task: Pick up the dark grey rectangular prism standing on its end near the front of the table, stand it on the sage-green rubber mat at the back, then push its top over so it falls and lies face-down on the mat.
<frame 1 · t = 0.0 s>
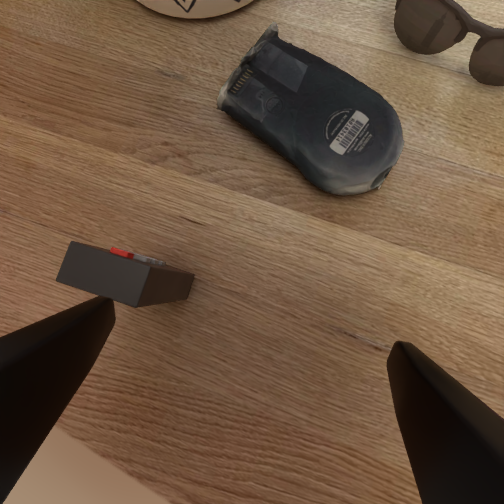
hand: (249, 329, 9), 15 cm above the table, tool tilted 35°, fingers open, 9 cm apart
sunglasses: (480, 2, 27), on the table
electronic device: (312, 129, 26), on the table
dark grey rectangular prism: (166, 278, 25), on the table
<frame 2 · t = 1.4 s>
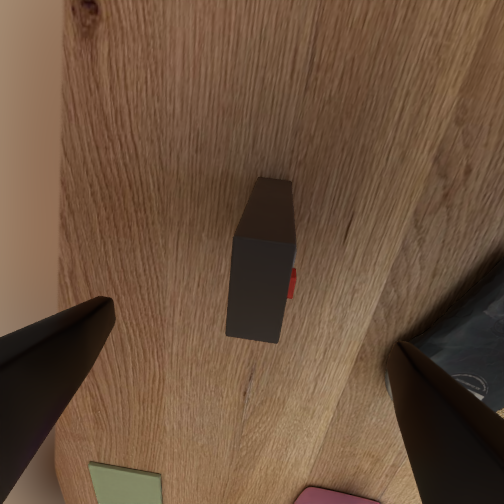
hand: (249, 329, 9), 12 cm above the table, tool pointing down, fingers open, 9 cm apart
electronic device: (467, 337, 23), on the table
dark grey rectangular prism: (270, 211, 20), on the table
mat: (130, 501, 40), on the table
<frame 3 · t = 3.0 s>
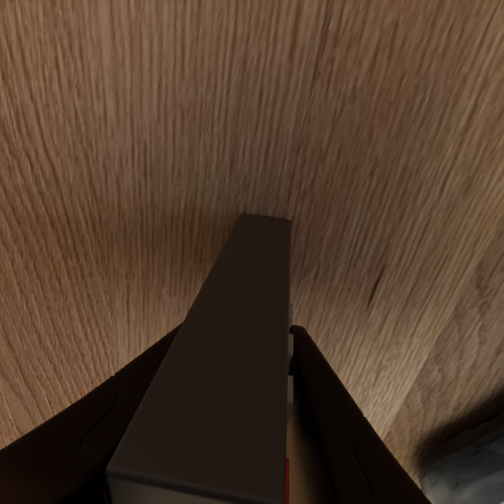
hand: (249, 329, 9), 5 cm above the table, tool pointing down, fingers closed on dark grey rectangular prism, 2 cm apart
dark grey rectangular prism: (259, 262, 13), on the table, touching gripper
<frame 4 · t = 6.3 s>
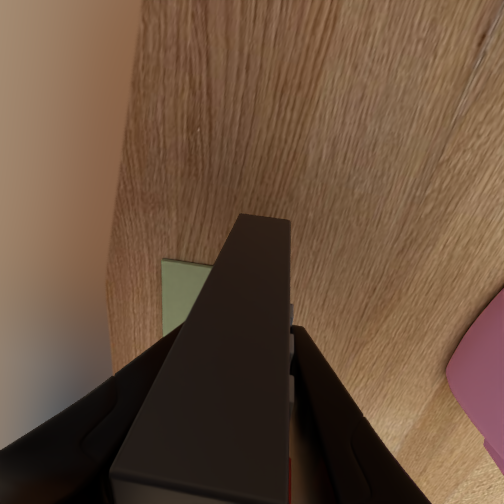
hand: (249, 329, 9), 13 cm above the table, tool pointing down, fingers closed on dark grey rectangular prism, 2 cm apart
dark grey rectangular prism: (259, 262, 13), point 9 cm above the table, touching gripper
mat: (211, 341, 27), on the table
when the fingers open (5 cm above the table, at t = 9.9 s): dark grey rectangular prism stays where it is, resting on mat.
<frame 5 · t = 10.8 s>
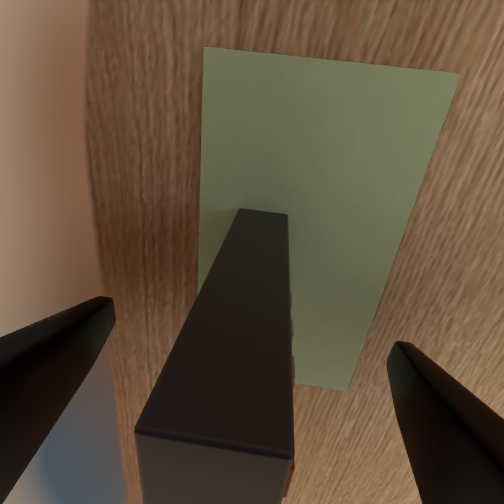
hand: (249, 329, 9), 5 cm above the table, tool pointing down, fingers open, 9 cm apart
dark grey rectangular prism: (257, 256, 14), resting on mat
mat: (292, 257, 14), on the table
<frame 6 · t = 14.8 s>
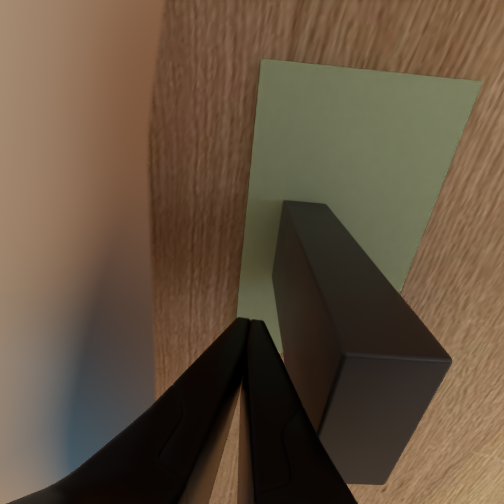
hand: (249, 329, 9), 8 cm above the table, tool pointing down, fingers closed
dark grey rectangular prism: (297, 242, 15), point 1 cm above the table, tilted 7°, touching mat
mat: (327, 242, 16), on the table
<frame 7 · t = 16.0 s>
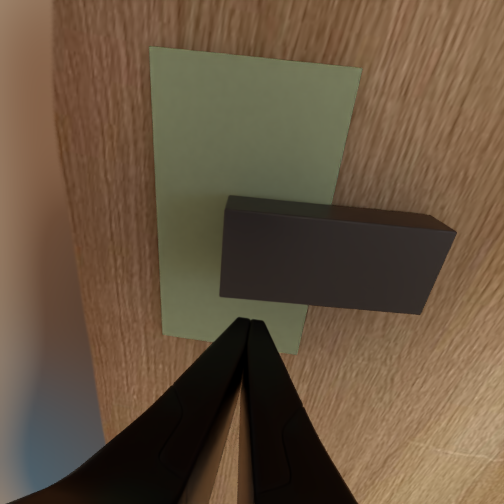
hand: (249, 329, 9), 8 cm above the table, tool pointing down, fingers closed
dark grey rectangular prism: (223, 246, 14), point 2 cm above the table, tilted 95°, touching mat
mat: (239, 230, 16), on the table
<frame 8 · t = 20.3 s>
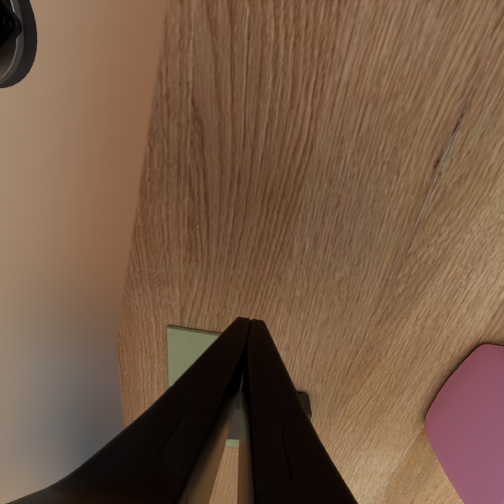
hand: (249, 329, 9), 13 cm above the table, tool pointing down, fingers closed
teapot: (497, 390, 26), on the table
dark grey rectangular prism: (202, 411, 28), point 2 cm above the table, tilted 95°, touching mat
mat: (212, 392, 30), on the table
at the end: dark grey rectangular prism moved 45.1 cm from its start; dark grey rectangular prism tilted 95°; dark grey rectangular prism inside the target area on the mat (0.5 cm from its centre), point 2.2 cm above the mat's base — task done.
